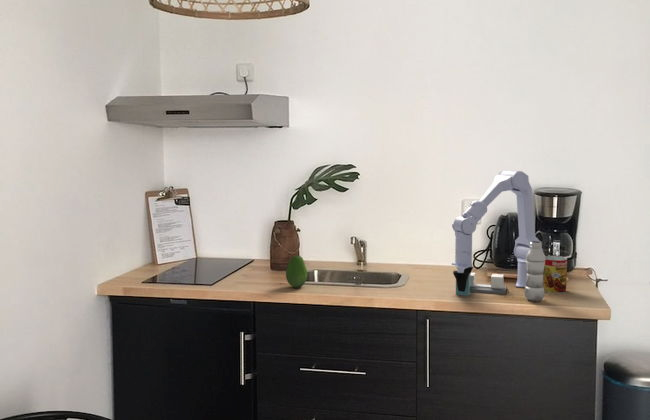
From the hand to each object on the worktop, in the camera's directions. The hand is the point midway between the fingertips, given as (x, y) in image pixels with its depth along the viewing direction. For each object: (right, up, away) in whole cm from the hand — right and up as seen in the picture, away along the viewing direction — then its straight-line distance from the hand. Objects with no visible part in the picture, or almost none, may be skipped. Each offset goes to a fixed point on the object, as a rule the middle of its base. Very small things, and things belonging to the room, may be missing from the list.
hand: (463, 288), depth 222 cm
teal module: (0, -2, 0) cm, 2 cm away
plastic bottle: (+22, -3, -10) cm, 24 cm away
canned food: (+33, -1, +3) cm, 33 cm away
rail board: (+8, -1, +6) cm, 10 cm away
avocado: (-59, -1, +12) cm, 61 cm away
